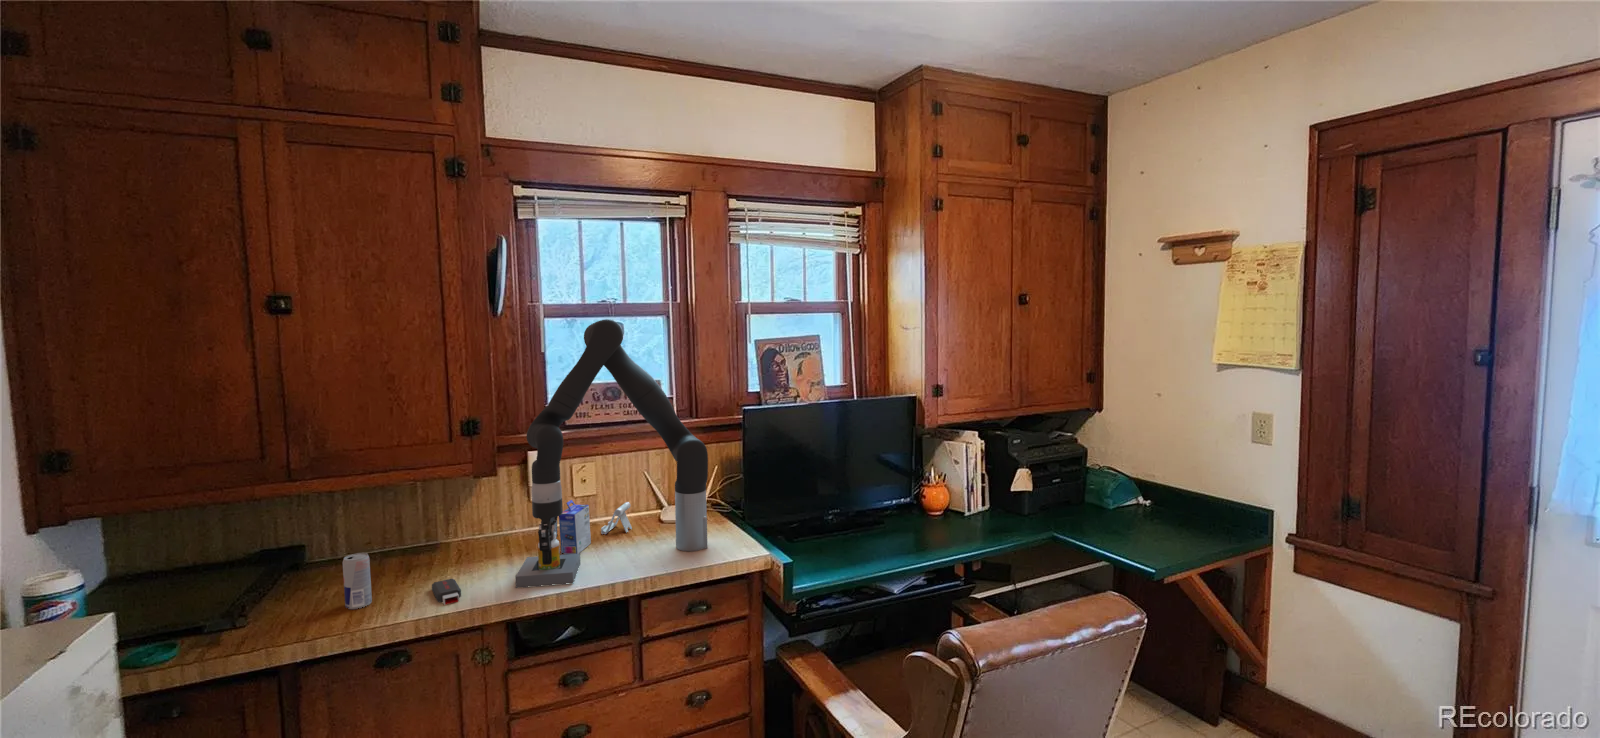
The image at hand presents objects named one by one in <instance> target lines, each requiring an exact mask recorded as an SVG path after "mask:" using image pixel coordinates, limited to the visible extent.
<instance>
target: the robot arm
mask: <svg viewBox="0 0 1600 738" xmlns="http://www.w3.org/2000/svg"><path fill="white" fill-rule="evenodd" d="M623 340H624V331H623V328H622V326H621V325H620V324H619V323H618V322H617V321H615V320H613V319H609V318H608V319H607V318H606V319H601V320H598V321H595V322H593V323H591V324H590V325H588V326H587V327H586V328H585V331H584V334H583V342H584V345H585V349H584V351H583V352H582V354H581V356H580V357H579V359H578V361H577V362H576V363H575V365H574V366H573V367H572V369H571V370H570V371H569V372H568V373H567V375H566V376H565V377H564V379H563V380H562V381H561V383H560V384H559V386H557V389H556V390H555V392H554V393H553V396H552V397H551V399H550V401H549V402H548V403H547V405H546V406H545V408H543V410H542V411H540V413H539V414H538V415H537V416H536V417H535V418H534V419H533V421H532V422H531V424H530V425H529V427H528V429H527V432H526V442H527V443H528V445H529V446H530V447H532V448H535V449H536V450H537V452H536V459H535V460H534V461H533V462H532V463H531V483H532V484H531V510H532V514H531V515H532V517H533V518H535V519H536V520H537V519H539V520H541V521H540V523H539V525H538V531H537V534H538V543H539V546H540V548H539V549H540V551H542V557H543V564H544V565H547V564H551V563H552V541H553V540H554V531H555V532H556V539H557V538H558V536H559V535H558V519H559V516H560V515H561V514H562V512H563V511H564V510H563V489H562V488H563V487H562V481H561V466H560V464H561V460H562V455H563V448H564V435H563V432H562V430H561V428H560V427H561V425H562V424H563V423H564V422H566V421H570V419H572V417H573V416H574V414H575V412H576V411H577V409H578V408H579V406H580V404H581V403H582V402H583V401H582V400H583V398H584V397H585V395H587V392H588V390H589V388H590V386H591V385H592V384H593V381H594V380H595V378H596V377H597V375H598V374H599V372H600V371H601V370H602V368H603V367H605V369H606V370H608V373H610V375H611V376H612V377H613V379H614V380H615V383H617V385H618V386H619V388H620V389H621V390H622V391H623V392H624V394H625V396H626V397H627V398H628V400H629V401H630V403H631V404H632V406H633V408H635V409H636V411H637V412H639V414H640V416H642V417H643V418H644V420H645V421H646V422H647V423H648V424H649V425H650V426H651V427H652V428H653V429H654V430H655V431H656V432H657V433H658V435H659V436H660V437H661V439H662V440H663V442H664V443H665V446H667V448H668V451H669V452H670V453H671V455H672V457H673V459H674V460H675V462H676V480H675V482H674V504H675V505H674V506H675V507H674V509H675V511H674V512H675V548H676V549H677V550H678V551H682V552H696V551H700V550H704V549H708V516H707V515H708V514H707V482H708V476H709V475H708V474H709V457H708V456H709V454H708V448H707V446H706V444H705V443H704V442H703V441H701V439H698V438H697V437H696V435H694V434H693V433H692V432H691V431H690V430H689V429H688V428H687V427H686V426H685V424H683V422H682V421H681V419H680V418H679V417H678V415H677V413H676V411H675V409H674V407H673V405H672V403H671V401H670V398H669V397H668V396H667V395H666V393H665V391H664V390H663V389H662V387H661V386H660V384H659V383H658V382H657V380H656V379H654V377H653V376H652V375H651V374H650V373H648V372H647V371H646V370H645V369H644V368H643V367H642V366H640V364H638V363H636V362H635V361H634V360H633V359H632V358H631V357H630V355H628V353H627V352H626V351H625V349H624V347H623V346H622V343H623ZM550 536H551V537H550ZM557 540H558V539H557ZM544 543H547V546H544Z"/></svg>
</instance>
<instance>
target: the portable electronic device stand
mask: <svg viewBox="0 0 1600 738" xmlns="http://www.w3.org/2000/svg"><path fill="white" fill-rule="evenodd" d="M630 508H631V503H630V502H629V501H625V502H624V503H623V504H622V505H620V506H619V507H618V508H616V509H615V510H614V512H613V513H612V517H611V518H610V519H611V520H610V521H608V522H607V525H604V526H602V527H601V528H600V533H601V535H603V534H605V535H607V534H608V533H609V532H610V531H612V529H614V528H616V526H617V524H618V522H619V520H620V522H621V525H622V527H623V529H624V531H625V534H628V533H629V530H630V529H631V530H632V529H633V527H632V524H631V523H630V520H629V518H628V516H627V513H626V511H627V510H629V509H630ZM615 517H617V518H616V520H615ZM614 520H615V521H614ZM627 532H628V533H627Z"/></svg>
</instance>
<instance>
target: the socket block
mask: <svg viewBox="0 0 1600 738" xmlns="http://www.w3.org/2000/svg"><path fill="white" fill-rule="evenodd" d="M579 566H580V567H581V553H578V554H560V568H559V569H550V570H539V562H538V555H536V556H527V557H526V558H525V560H524V562H523V564H522V565H521V567H520V568H519V570H518V572H517V573H516V575H515V589H519V588H518V587H523V588H529V587H528V586H536V587H542V586H541V585H549V586H553V585H552V584H562V585H567V584H566V583H573V582H574V583H575V580H574V579H576V577H577V575H576V574H578V572H577V571H579V569H580V567H579ZM578 568H579V569H578ZM574 583H573V584H574Z"/></svg>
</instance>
